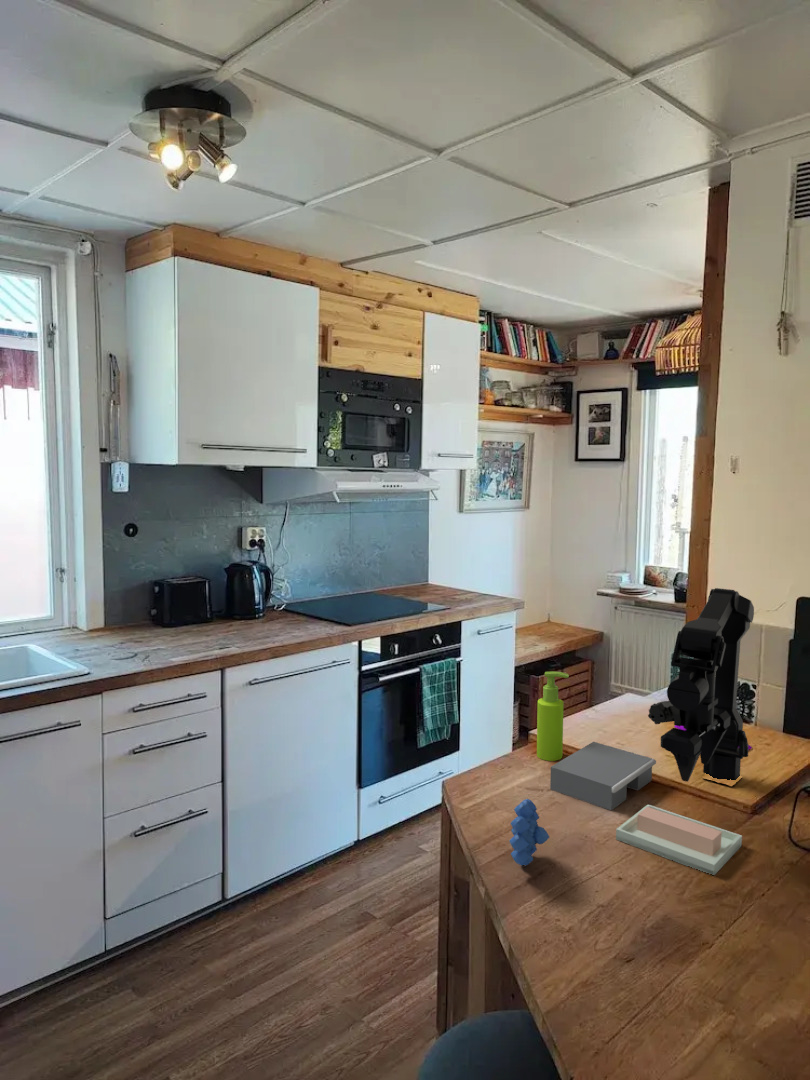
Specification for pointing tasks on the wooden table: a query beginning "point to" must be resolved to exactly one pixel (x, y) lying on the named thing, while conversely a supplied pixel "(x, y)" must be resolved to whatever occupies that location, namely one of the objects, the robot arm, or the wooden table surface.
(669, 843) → the tray
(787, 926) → the wooden table surface
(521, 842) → the grapes
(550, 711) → the soap dispenser
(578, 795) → the block
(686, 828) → the pink bar in dish
